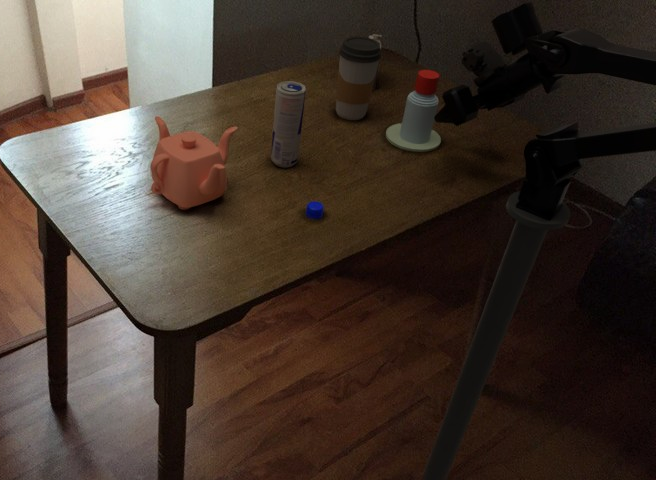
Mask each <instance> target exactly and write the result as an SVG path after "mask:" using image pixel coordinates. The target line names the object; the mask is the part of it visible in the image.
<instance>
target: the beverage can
mask: <svg viewBox="0 0 656 480" xmlns="http://www.w3.org/2000/svg"><path fill="white" fill-rule="evenodd" d="M306 90H307V88H306V86H305V85H304V84H303V83H300V82H299V81H292V80H287V81H281V82H279V83H278V84H277V85H276V90H275V100H274V101H275V102H274V114H273V125H272V126H273V127H272V138H271V149H270V151H271V152H270V160H271V161H272V163H273V164H274V165H275V166H277V167H279V168H285V169H286V168H291V167H293V166H294V165H296V164H297V163H298V162H299V156H300V155H299V154H300V147H301V136H302V130H303V129H302V128H303V120H304V109H305V102H306Z"/></svg>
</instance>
